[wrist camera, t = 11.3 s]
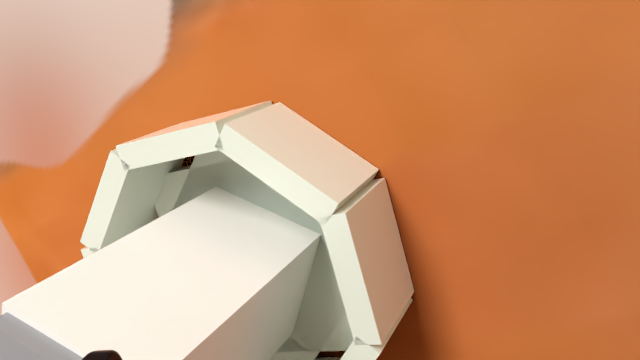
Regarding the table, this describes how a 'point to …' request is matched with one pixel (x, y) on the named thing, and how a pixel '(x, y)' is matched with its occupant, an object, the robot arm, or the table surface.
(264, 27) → the table surface
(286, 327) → the pebble canister
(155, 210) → the sage bowl
